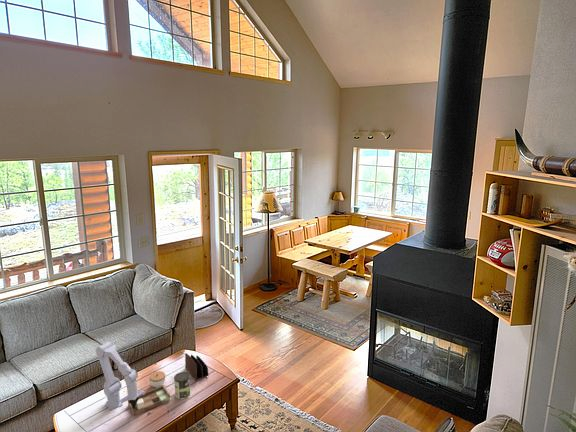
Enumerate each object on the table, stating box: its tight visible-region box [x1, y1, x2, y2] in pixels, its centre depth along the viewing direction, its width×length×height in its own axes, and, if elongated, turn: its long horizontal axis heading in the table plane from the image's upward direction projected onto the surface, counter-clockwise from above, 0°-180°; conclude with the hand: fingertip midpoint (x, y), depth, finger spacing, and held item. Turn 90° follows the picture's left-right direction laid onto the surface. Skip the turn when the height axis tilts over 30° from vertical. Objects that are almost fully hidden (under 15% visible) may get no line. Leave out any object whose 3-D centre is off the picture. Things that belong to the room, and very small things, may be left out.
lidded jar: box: [149, 370, 166, 389], centre depth 276 cm, size 11×11×9 cm
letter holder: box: [184, 352, 209, 382], centre depth 291 cm, size 10×20×14 cm, turn 37°
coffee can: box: [173, 371, 191, 400], centre depth 266 cm, size 10×10×14 cm
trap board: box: [127, 385, 171, 416], centre depth 259 cm, size 12×24×4 cm, turn 128°
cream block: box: [136, 398, 144, 409], centre depth 252 cm, size 4×4×4 cm
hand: (133, 408), depth 249 cm, fingers closed
